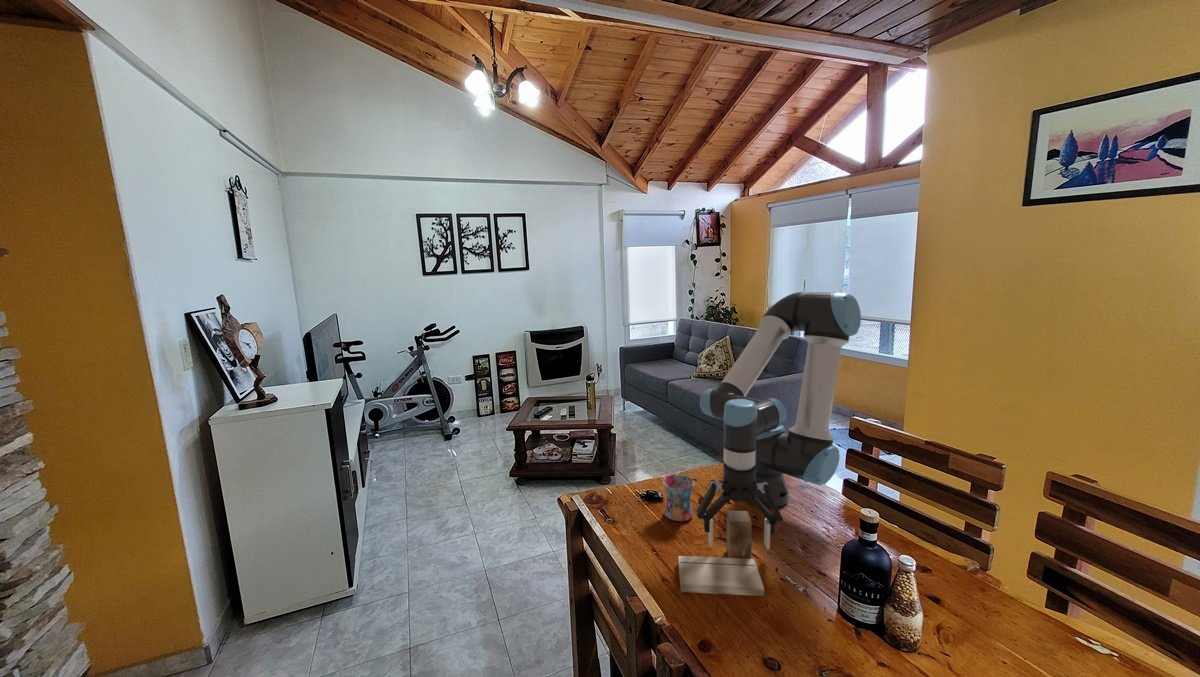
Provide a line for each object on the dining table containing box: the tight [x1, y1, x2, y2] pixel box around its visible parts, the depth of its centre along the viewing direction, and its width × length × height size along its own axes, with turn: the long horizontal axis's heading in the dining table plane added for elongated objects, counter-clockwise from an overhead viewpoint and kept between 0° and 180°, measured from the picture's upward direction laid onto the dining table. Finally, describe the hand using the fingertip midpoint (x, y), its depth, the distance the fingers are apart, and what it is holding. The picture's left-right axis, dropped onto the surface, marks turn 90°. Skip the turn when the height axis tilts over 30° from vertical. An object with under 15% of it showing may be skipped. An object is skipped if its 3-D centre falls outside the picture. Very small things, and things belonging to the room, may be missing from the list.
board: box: [677, 555, 765, 597], centre depth 105 cm, size 18×10×2 cm, turn 83°
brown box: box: [726, 510, 753, 559], centre depth 110 cm, size 5×9×11 cm, turn 173°
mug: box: [661, 474, 696, 522], centre depth 132 cm, size 12×9×11 cm
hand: (738, 544), depth 112 cm, fingers open, 13 cm apart
